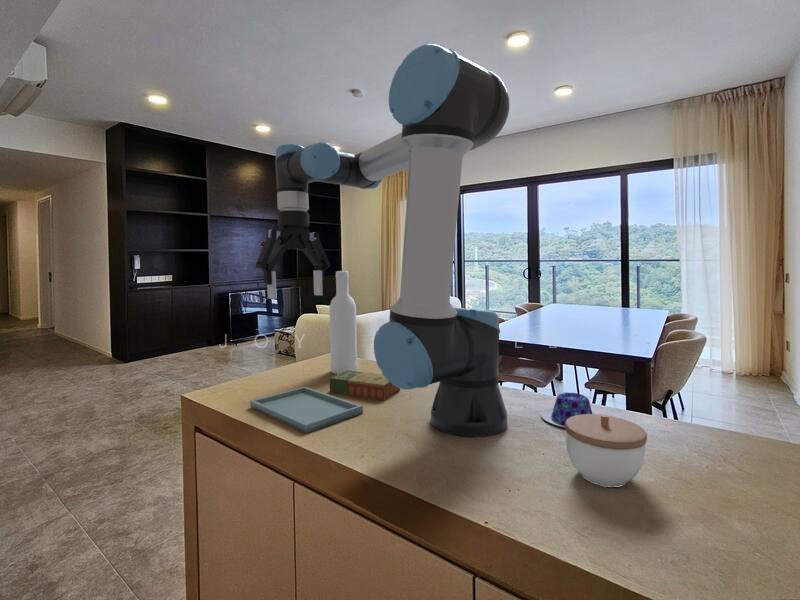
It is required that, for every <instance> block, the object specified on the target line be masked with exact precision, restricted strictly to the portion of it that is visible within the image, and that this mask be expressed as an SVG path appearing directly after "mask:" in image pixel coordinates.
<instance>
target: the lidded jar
mask: <svg viewBox="0 0 800 600" xmlns="http://www.w3.org/2000/svg"><path fill="white" fill-rule="evenodd" d="M564 429H565V443H566V444H565V445H566V450H567V454H568V457H569V459H570V462H571V464H572V465H573V467H574V468H575V469H576V470H577V472H579V473H580V476H581V475H582V476H581V477H582V478H583V479H584V480H585V479H586V480H588V481H590V482H592V483H595V484H598V485H602V486H610V487H615V486H620V485H624V484H625V483H626V484H627V483H629V482H630V481H632V480H633V479H634V478H636V476H637V475H638V474H639V472H640V471H641V469H642V466H643V464H644V460H645V455H646V454H645V453H646V443H647V440H648V434H647V431H646V430H645V429H644V428H643V427H642V426H640V425H639V424H636V423H634V422H632V421H630V420H627V419H624V418H620V417H616V416H611V415H608V414H596V413H594V414H583V415H576V416H572V417H570V418H568V419H567V420H566V423H565V427H564ZM586 480H585V481H586ZM588 481H587V482H588ZM590 482H589V483H590ZM592 483H591V484H592ZM626 484H625V485H626ZM625 485H624V486H625Z"/></svg>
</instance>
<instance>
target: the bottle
mask: <svg viewBox="0 0 800 600" xmlns="http://www.w3.org/2000/svg"><path fill="white" fill-rule="evenodd" d="M349 278H350V275H349V271H348V270H337V271H335V286H336V288H335V290H336V291H335V292H336V293H335V296H334V297H333V298H332V299H331V301H330V304H329V337H330V339H329V340H330V341H329V342H330V343H329V344H330V372H331V373H332V374H333V373H334V374H333V375H336V374H340V373H343V372H345V371H347V370H349V371H356V372H358V347H357V345H358V344H357V343H358V342H357V340H358V337H357V333H358V332H357V305H356V303H355V300H354V298H353V297H352V296H351V295H350V293H349V291H350V290H349V286H350V285H349Z"/></svg>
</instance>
